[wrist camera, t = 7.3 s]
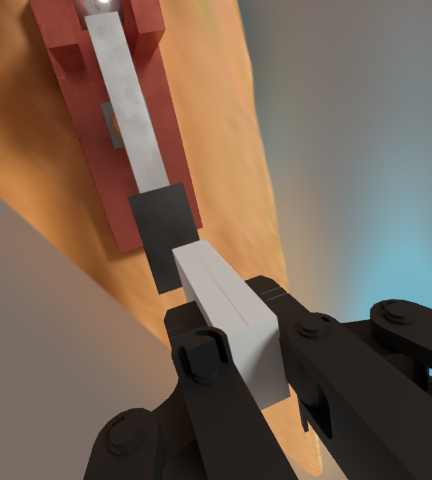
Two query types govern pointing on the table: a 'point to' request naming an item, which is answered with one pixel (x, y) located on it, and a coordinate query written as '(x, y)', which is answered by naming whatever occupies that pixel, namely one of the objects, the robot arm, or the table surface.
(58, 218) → the table surface
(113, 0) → the nutcracker lever
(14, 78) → the table surface
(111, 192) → the nutcracker base
